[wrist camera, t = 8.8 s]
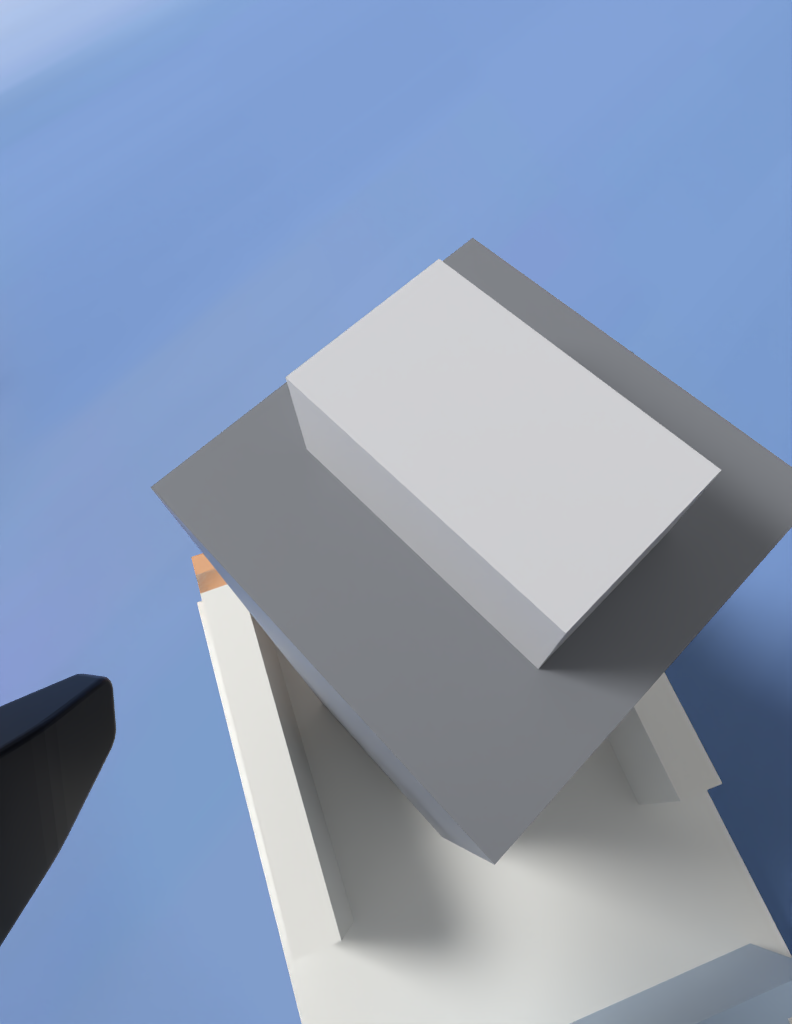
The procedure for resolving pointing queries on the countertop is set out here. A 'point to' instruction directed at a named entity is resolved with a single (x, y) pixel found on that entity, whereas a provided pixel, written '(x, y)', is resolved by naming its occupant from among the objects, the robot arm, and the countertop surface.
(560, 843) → the white tray with rails
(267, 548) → the grey pedestal with block
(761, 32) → the countertop surface
